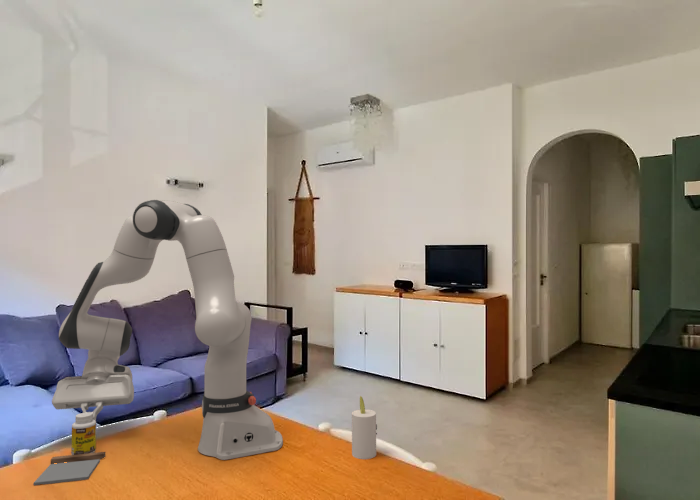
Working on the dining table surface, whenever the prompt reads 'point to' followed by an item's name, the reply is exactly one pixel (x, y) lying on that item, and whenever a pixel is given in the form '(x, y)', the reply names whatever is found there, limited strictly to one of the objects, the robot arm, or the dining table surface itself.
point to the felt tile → (67, 472)
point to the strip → (78, 457)
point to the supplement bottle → (83, 434)
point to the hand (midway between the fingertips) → (89, 419)
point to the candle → (364, 432)
